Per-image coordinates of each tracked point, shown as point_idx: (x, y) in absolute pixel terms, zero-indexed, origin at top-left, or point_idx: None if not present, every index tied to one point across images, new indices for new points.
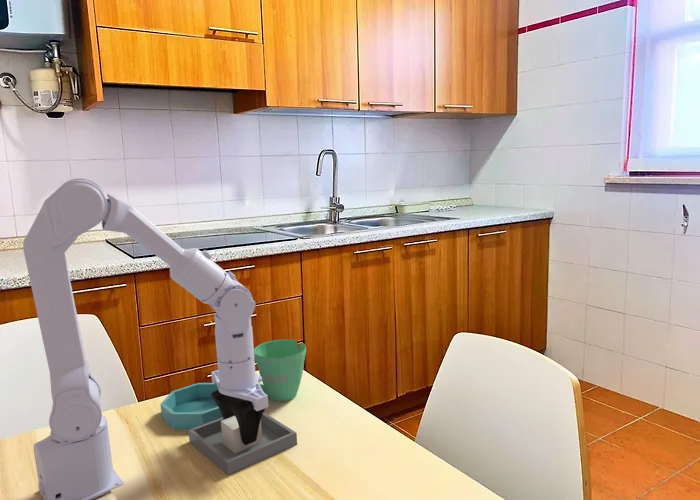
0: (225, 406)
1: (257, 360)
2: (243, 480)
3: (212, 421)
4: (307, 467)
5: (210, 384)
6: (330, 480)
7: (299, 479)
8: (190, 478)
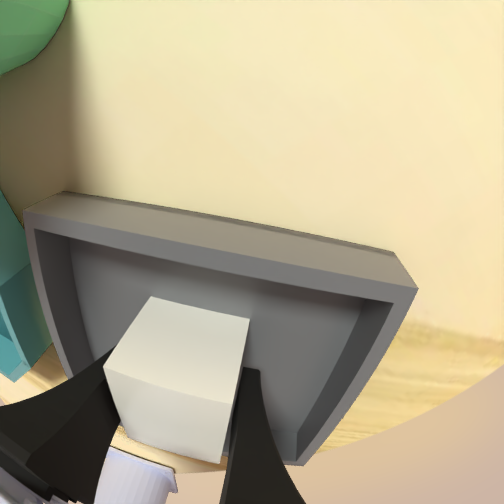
0: (99, 461)
1: None
2: (341, 422)
3: (63, 366)
4: (472, 316)
5: None
6: None
7: (467, 357)
8: None
